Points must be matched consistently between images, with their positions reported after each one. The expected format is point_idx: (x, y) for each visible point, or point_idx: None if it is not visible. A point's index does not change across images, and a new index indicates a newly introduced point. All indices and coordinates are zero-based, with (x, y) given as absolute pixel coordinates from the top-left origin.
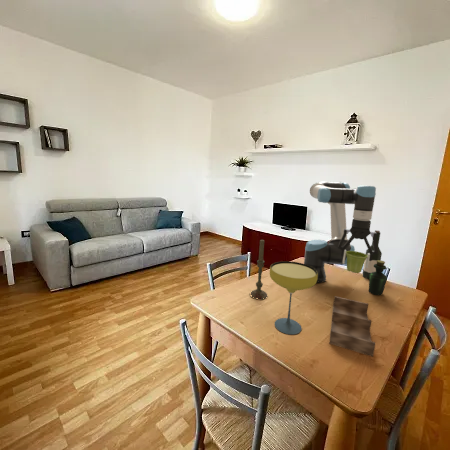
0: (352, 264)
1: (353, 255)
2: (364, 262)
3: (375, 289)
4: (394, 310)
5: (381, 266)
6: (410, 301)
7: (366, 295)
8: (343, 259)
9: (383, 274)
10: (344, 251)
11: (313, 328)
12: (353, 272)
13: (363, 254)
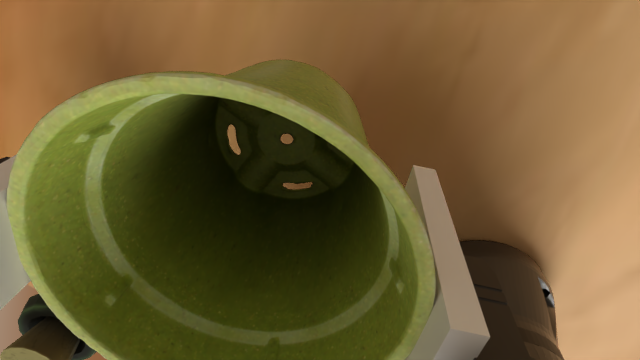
0: (320, 93)
1: (261, 329)
2: None
3: None
4: (83, 20)
5: (46, 321)
6: (10, 156)
7: None
8: (443, 204)
9: None
10: (483, 322)
11: None
12: (304, 64)
13: (102, 321)
